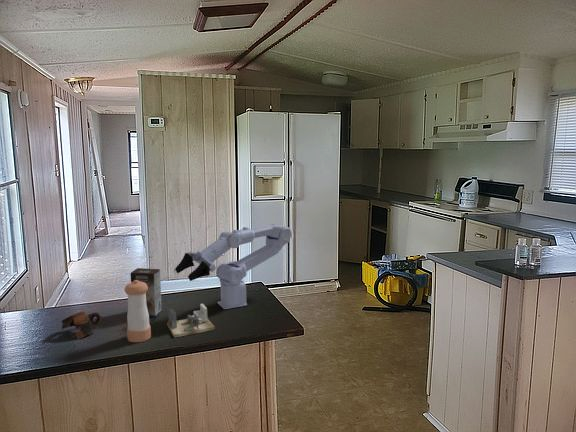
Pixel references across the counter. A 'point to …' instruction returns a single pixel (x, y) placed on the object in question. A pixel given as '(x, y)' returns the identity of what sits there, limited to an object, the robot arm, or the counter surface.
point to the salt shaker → (137, 312)
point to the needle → (195, 321)
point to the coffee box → (150, 288)
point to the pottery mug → (82, 323)
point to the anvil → (172, 318)
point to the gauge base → (190, 327)
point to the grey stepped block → (199, 314)
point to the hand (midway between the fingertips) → (182, 274)
